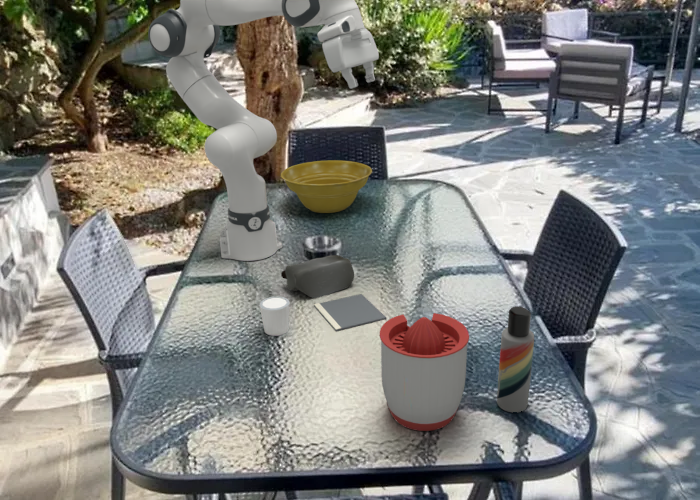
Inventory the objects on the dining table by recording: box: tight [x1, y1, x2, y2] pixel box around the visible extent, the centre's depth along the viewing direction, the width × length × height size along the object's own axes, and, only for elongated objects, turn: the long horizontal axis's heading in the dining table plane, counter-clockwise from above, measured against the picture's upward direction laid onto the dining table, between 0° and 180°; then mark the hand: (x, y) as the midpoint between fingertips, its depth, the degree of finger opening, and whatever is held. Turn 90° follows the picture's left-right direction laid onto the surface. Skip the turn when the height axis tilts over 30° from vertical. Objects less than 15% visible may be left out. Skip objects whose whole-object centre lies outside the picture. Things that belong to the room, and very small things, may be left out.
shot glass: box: [259, 296, 291, 337], centre depth 147 cm, size 7×7×7 cm
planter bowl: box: [280, 159, 373, 214], centre depth 226 cm, size 32×32×13 cm
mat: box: [313, 293, 387, 332], centre depth 155 cm, size 14×13×1 cm
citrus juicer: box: [379, 312, 470, 432], centre depth 115 cm, size 16×17×20 cm
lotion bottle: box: [496, 305, 535, 413], centre depth 116 cm, size 6×6×20 cm
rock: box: [280, 254, 355, 299], centre depth 167 cm, size 18×11×8 cm, turn 121°
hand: (362, 84), depth 155 cm, fingers open, 8 cm apart
